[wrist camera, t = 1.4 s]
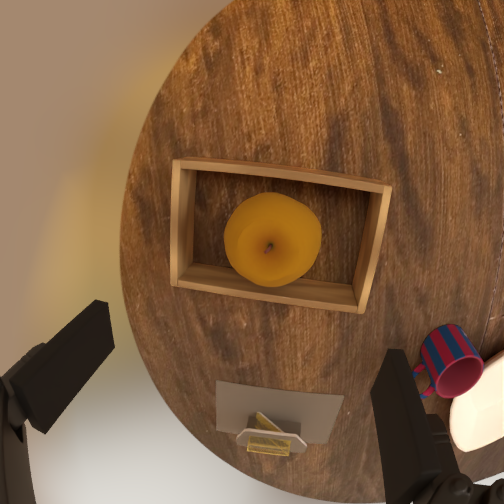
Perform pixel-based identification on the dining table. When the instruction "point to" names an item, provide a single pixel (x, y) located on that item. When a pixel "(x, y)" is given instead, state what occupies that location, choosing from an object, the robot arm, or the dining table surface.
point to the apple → (272, 239)
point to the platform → (275, 417)
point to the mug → (449, 362)
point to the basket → (300, 289)
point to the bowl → (480, 409)
